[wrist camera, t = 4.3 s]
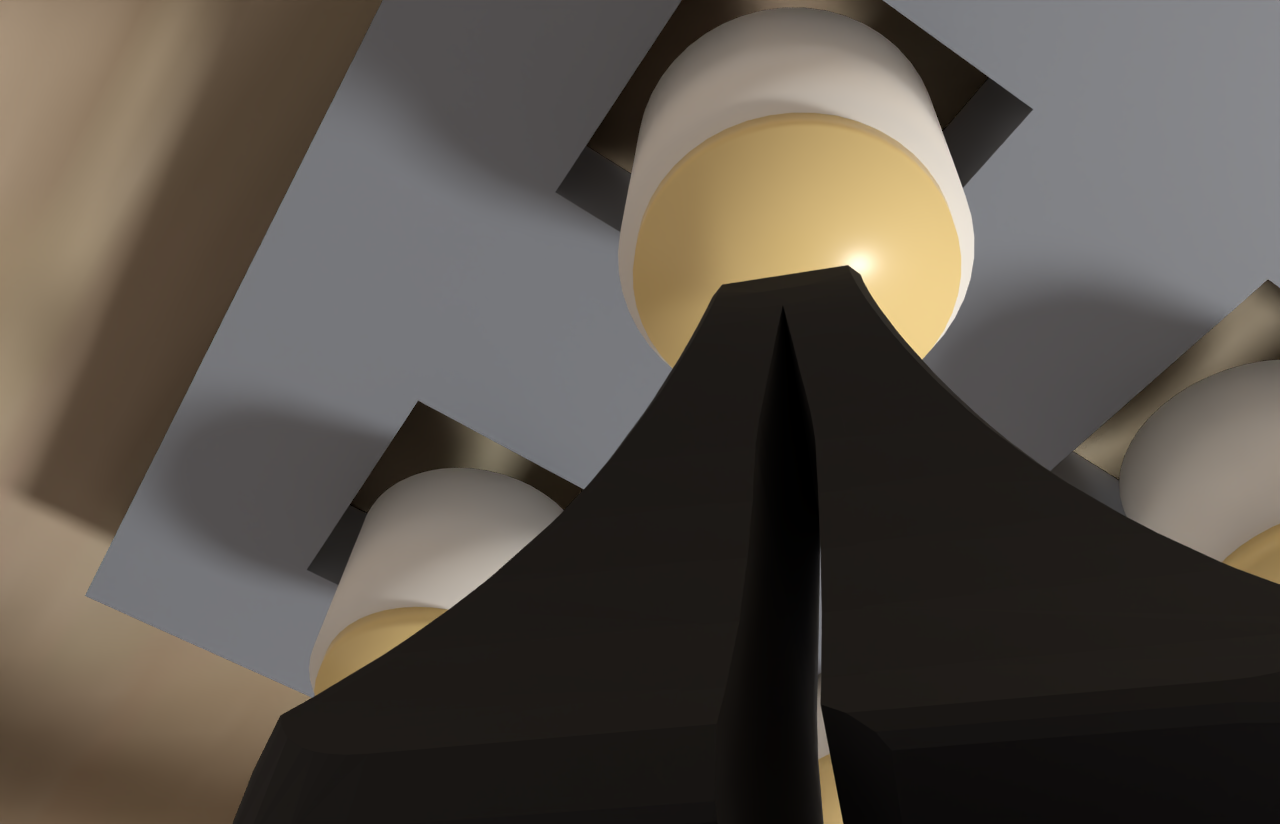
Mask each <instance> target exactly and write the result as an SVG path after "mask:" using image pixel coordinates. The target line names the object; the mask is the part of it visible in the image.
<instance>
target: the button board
mask: <svg viewBox="0 0 1280 824" xmlns="http://www.w3.org/2000/svg"><path fill="white" fill-rule="evenodd" d="M883 1H884V2H886V3H887V4H889V5H890V6H891V7H893V8H894V9H896V10H897V11H898V12H900V13H901V14H902V15H904V16H905V17H907V18H908V19H909V20H911V21H912V22H913V23H915V24H916V25H918V26H919V27H920V28H922V29H923V30H925V31H926V32H927V33H929V34H930V35H931V36H933V37H934V38H936V39H937V40H938V41H940V42H941V43H942V44H944V45H945V46H947V47H948V48H949V49H951V50H952V51H954V52H955V53H956V54H958V55H959V56H960V57H962V58H963V59H965V60H966V61H967V62H969V63H970V64H971V65H973V66H974V67H976V68H977V69H978V70H980V71H981V72H983V73H984V74H985V75H987V76H988V77H989V78H988V79H987V81H986V82H985V83H984V84H983V85H982V86H981V88H980V89H979V90H978V91H977V92H976V93H975V95H974V96H973V97H972V98H971V99H970V100H969V102H968V103H967V104H966V105H965V106H964V107H963V109H962V110H961V111H960V112H959V113H958V114H957V116H956V117H955V118H954V119H953V120H952V121H951V123H950V124H949V125H948V126H947V127H946V128H945V130H944V131H943V135H944V137H945V140H946V143H947V146H948V149H949V151H950V154H951V157H952V160H953V162H954V165H955V168H956V171H957V174H958V176H959V179H960V182H961V185H962V188H963V190H964V193H965V196H966V199H967V203H968V206H969V209H970V213H971V216H972V223H973V231H974V261H973V267H972V273H971V279H970V282H969V285H968V288H967V291H966V295H965V298H964V300H963V302H962V304H961V306H960V308H959V310H958V313H957V315H956V317H955V318H954V320H953V321H952V323H951V324H950V326H949V328H948V329H947V331H946V332H945V334H944V335H943V336H942V337H941V339H940V340H939V341H938V342H937V343H936V344H935V346H934V347H933V348H932V349H931V350H930V351H929V352H928V354H927V355H926V356H925V357H924V358H923V359H922V360H923V361H924V362H925V363H926V364H927V365H928V367H929V368H930V369H931V370H932V371H933V372H934V373H935V374H936V375H937V376H938V377H939V378H940V379H941V380H942V381H943V382H944V383H945V384H946V385H947V386H948V387H949V388H950V389H951V390H952V391H953V392H954V393H955V394H956V395H957V396H958V397H959V398H960V399H961V400H962V401H964V402H965V403H966V404H967V405H968V406H969V407H970V408H971V409H972V410H973V411H974V412H975V413H976V414H978V415H979V416H980V417H981V418H982V419H983V420H985V421H986V422H987V423H988V424H989V425H990V426H992V427H993V428H994V429H995V430H996V431H998V432H999V433H1000V434H1001V435H1002V436H1004V437H1005V438H1006V439H1007V440H1009V441H1010V442H1011V443H1012V444H1014V445H1015V446H1017V447H1018V448H1019V449H1021V450H1022V451H1023V452H1025V453H1026V454H1027V455H1029V456H1030V457H1031V458H1033V459H1034V460H1035V461H1037V462H1038V463H1039V464H1041V465H1042V466H1043V467H1045V468H1046V469H1048V470H1049V471H1051V472H1052V473H1054V474H1055V475H1057V476H1058V477H1060V478H1061V479H1063V480H1064V481H1066V482H1067V483H1069V484H1071V485H1072V486H1074V487H1076V488H1077V489H1079V490H1081V491H1083V492H1084V493H1086V494H1088V495H1090V496H1091V497H1093V498H1095V499H1097V500H1098V501H1100V502H1102V503H1103V504H1105V505H1107V506H1109V507H1110V508H1112V509H1114V510H1116V511H1117V512H1119V513H1121V514H1122V515H1124V516H1126V514H1125V511H1124V509H1123V506H1122V502H1121V498H1120V490H1119V480H1117V479H1116V478H1114V477H1113V476H1111V475H1109V474H1108V473H1106V472H1105V471H1103V470H1101V469H1100V468H1098V467H1097V466H1095V465H1094V464H1092V463H1090V462H1089V461H1087V460H1086V459H1084V458H1082V457H1081V456H1079V455H1078V454H1076V453H1074V452H1073V450H1074V449H1076V448H1077V447H1078V446H1079V445H1080V444H1081V443H1082V442H1084V441H1085V440H1086V439H1087V438H1088V437H1089V436H1090V435H1092V434H1093V433H1094V432H1095V431H1096V430H1097V429H1098V428H1099V427H1101V426H1102V425H1103V424H1104V423H1105V422H1106V421H1107V420H1109V419H1110V418H1111V417H1112V416H1113V415H1114V414H1115V413H1117V412H1118V411H1119V410H1120V409H1121V408H1122V407H1123V406H1124V405H1126V404H1127V403H1128V402H1129V401H1130V400H1131V399H1132V398H1134V397H1135V396H1136V395H1137V394H1138V393H1139V392H1140V391H1142V390H1143V389H1144V388H1145V387H1146V386H1147V385H1148V384H1149V383H1151V382H1152V381H1153V380H1154V379H1155V378H1156V377H1157V376H1159V375H1160V374H1161V373H1162V372H1163V371H1164V370H1165V369H1167V368H1168V367H1169V366H1170V365H1171V364H1172V363H1173V362H1174V361H1176V360H1177V359H1178V358H1179V357H1180V356H1181V355H1182V354H1184V353H1185V352H1186V351H1187V350H1188V349H1189V348H1190V347H1192V346H1193V345H1194V344H1195V343H1196V342H1197V341H1198V340H1199V339H1201V338H1202V337H1203V336H1204V335H1205V334H1206V333H1207V332H1209V331H1210V330H1211V329H1212V328H1213V327H1214V326H1215V325H1217V324H1218V323H1219V322H1220V321H1221V320H1222V319H1223V318H1225V317H1226V316H1227V315H1228V314H1229V313H1230V312H1231V311H1232V310H1234V309H1235V308H1236V307H1237V306H1238V305H1239V304H1240V303H1242V302H1243V301H1244V300H1245V299H1246V298H1247V297H1248V296H1250V295H1251V294H1252V293H1253V292H1254V291H1255V290H1256V289H1257V288H1259V287H1260V286H1261V285H1262V284H1263V283H1264V282H1265V281H1267V280H1270V281H1271V282H1273V283H1274V284H1275V285H1277V286H1278V287H1279V288H1280V0H883ZM680 2H681V0H383V1H382V3H381V5H380V7H379V9H378V11H377V13H376V15H375V17H374V19H373V21H372V23H371V25H370V27H369V29H368V31H367V33H366V35H365V37H364V39H363V41H362V43H361V45H360V47H359V49H358V51H357V53H356V55H355V57H354V59H353V61H352V63H351V65H350V67H349V69H348V71H347V73H346V75H345V77H344V79H343V81H342V83H341V85H340V87H339V89H338V91H337V93H336V95H335V97H334V99H333V101H332V103H331V105H330V107H329V109H328V111H327V113H326V115H325V117H324V119H323V121H322V123H321V125H320V127H319V129H318V131H317V133H316V135H315V137H314V139H313V141H312V143H311V145H310V147H309V149H308V151H307V153H306V155H305V157H304V159H303V161H302V163H301V165H300V167H299V169H298V171H297V173H296V175H295V177H294V179H293V181H292V183H291V185H290V187H289V189H288V191H287V193H286V195H285V197H284V199H283V201H282V203H281V205H280V207H279V209H278V211H277V213H276V215H275V217H274V219H273V221H272V223H271V225H270V227H269V229H268V231H267V233H266V235H265V237H264V239H263V241H262V243H261V245H260V247H259V249H258V251H257V253H256V255H255V257H254V259H253V261H252V263H251V265H250V267H249V269H248V271H247V273H246V275H245V277H244V279H243V281H242V283H241V285H240V287H239V289H238V291H237V293H236V295H235V297H234V299H233V301H232V303H231V305H230V307H229V309H228V311H227V313H226V315H225V317H224V319H223V321H222V323H221V325H220V327H219V329H218V331H217V333H216V335H215V337H214V339H213V341H212V343H211V345H210V347H209V349H208V351H207V353H206V355H205V357H204V359H203V361H202V363H201V365H200V367H199V369H198V371H197V373H196V375H195V377H194V379H193V381H192V383H191V385H190V387H189V389H188V391H187V393H186V395H185V397H184V399H183V401H182V403H181V405H180V407H179V409H178V411H177V413H176V415H175V417H174V419H173V421H172V423H171V425H170V427H169V429H168V431H167V433H166V435H165V437H164V439H163V441H162V443H161V445H160V447H159V449H158V451H157V453H156V455H155V457H154V459H153V461H152V463H151V465H150V467H149V469H148V471H147V473H146V475H145V477H144V479H143V481H142V483H141V485H140V487H139V489H138V491H137V493H136V495H135V497H134V499H133V501H132V503H131V505H130V507H129V509H128V511H127V513H126V515H125V517H124V519H123V521H122V523H121V525H120V527H119V529H118V531H117V533H116V535H115V537H114V539H113V541H112V543H111V545H110V547H109V549H108V551H107V553H106V555H105V557H104V559H103V561H102V563H101V565H100V567H99V569H98V571H97V573H96V575H95V577H94V579H93V581H92V583H91V585H90V587H89V589H88V591H87V593H86V595H85V596H87V597H89V598H91V599H93V600H95V601H98V602H100V603H102V604H104V605H107V606H109V607H111V608H113V609H116V610H118V611H120V612H122V613H124V614H127V615H129V616H131V617H133V618H136V619H138V620H140V621H142V622H145V623H147V624H149V625H151V626H154V627H156V628H158V629H160V630H162V631H165V632H167V633H169V634H171V635H174V636H176V637H178V638H180V639H183V640H185V641H187V642H189V643H191V644H194V645H196V646H198V647H200V648H203V649H205V650H207V651H209V652H212V653H214V654H216V655H218V656H220V657H223V658H225V659H227V660H229V661H232V662H234V663H236V664H238V665H241V666H243V667H245V668H247V669H249V670H252V671H254V672H256V673H258V674H261V675H263V676H265V677H267V678H270V679H272V680H274V681H276V682H278V683H281V684H283V685H285V686H287V687H290V688H292V689H294V690H296V691H299V692H301V693H303V694H305V695H307V696H310V697H314V696H315V694H314V692H313V689H312V685H311V681H310V673H309V664H310V656H311V653H312V650H313V647H314V644H315V642H316V639H317V637H318V634H319V632H320V630H321V627H322V625H323V622H324V620H325V617H326V615H327V612H328V610H329V607H330V605H331V602H332V600H333V597H334V595H335V592H336V590H337V587H338V585H339V582H340V580H341V577H342V575H343V572H344V570H345V567H346V565H347V563H348V560H349V558H350V555H351V553H352V550H353V548H354V545H355V543H356V540H357V538H358V535H359V533H360V530H361V528H362V525H363V523H364V520H365V518H366V515H367V513H365V512H363V511H361V510H359V509H357V508H355V507H353V506H351V505H350V503H351V502H352V500H353V499H354V497H355V496H356V494H357V493H358V491H359V490H360V488H361V487H362V485H363V484H364V482H365V481H366V479H367V478H368V476H369V474H370V473H371V471H372V470H373V468H374V467H375V465H376V464H377V462H378V461H379V459H380V458H381V456H382V455H383V453H384V452H385V450H386V449H387V447H388V446H389V444H390V443H391V441H392V440H393V438H394V437H395V435H396V433H397V432H398V430H399V429H400V427H401V426H402V424H403V423H404V421H405V420H406V418H407V417H408V415H409V414H410V412H411V411H412V409H413V408H414V406H415V405H416V403H417V402H418V401H420V402H422V403H423V404H425V405H427V406H429V407H431V408H433V409H435V410H437V411H438V412H440V413H442V414H444V415H446V416H448V417H450V418H451V419H453V420H455V421H457V422H459V423H461V424H463V425H465V426H466V427H468V428H470V429H472V430H474V431H476V432H478V433H479V434H481V435H483V436H485V437H487V438H489V439H491V440H493V441H494V442H496V443H498V444H500V445H502V446H504V447H506V448H507V449H509V450H511V451H513V452H515V453H517V454H519V455H520V456H522V457H524V458H526V459H528V460H530V461H532V462H534V463H535V464H537V465H539V466H541V467H543V468H545V469H547V470H548V471H550V472H552V473H554V474H556V475H558V476H560V477H562V478H563V479H565V480H567V481H569V482H571V483H573V484H575V485H576V486H578V487H580V488H582V489H585V488H586V486H587V485H588V484H589V483H590V482H591V481H592V480H593V478H594V477H595V476H596V475H597V474H598V472H599V471H600V470H601V469H602V467H603V466H604V465H605V464H606V463H607V461H608V460H609V459H610V458H611V456H612V455H613V454H614V453H615V451H616V450H617V448H618V447H619V446H620V444H621V443H622V442H623V440H624V439H625V438H626V436H627V435H628V434H629V432H630V431H631V429H632V428H633V427H634V425H635V424H636V423H637V421H638V420H639V419H640V417H641V416H642V415H643V413H644V412H645V411H646V409H647V408H648V406H649V405H650V403H651V402H652V400H653V399H654V397H655V396H656V394H657V392H658V391H659V389H660V388H661V386H662V385H663V383H664V381H665V380H666V378H667V377H668V375H669V373H670V372H671V370H672V369H673V368H671V367H670V366H669V365H668V364H667V363H666V362H664V361H663V360H662V359H661V358H660V357H659V355H658V354H657V353H656V352H655V351H654V350H653V349H652V348H651V347H650V346H649V344H648V343H647V341H646V340H645V338H644V337H643V336H642V334H641V333H640V331H639V330H638V328H637V326H636V324H635V322H634V320H633V318H632V316H631V314H630V312H629V310H628V307H627V304H626V301H625V298H624V295H623V292H622V287H621V282H620V276H619V265H618V248H619V239H620V231H621V225H622V220H623V215H624V210H625V204H626V199H627V194H628V188H629V183H630V178H631V174H630V173H629V172H627V171H625V170H624V169H622V168H621V167H619V166H617V165H616V164H614V163H613V162H611V161H609V160H608V159H606V158H605V157H603V156H601V155H600V154H598V153H597V152H595V151H593V150H592V149H590V148H589V147H587V146H586V145H587V143H588V142H589V140H590V139H591V137H592V136H593V134H594V133H595V131H596V130H597V128H598V127H599V125H600V124H601V122H602V120H603V119H604V117H605V116H606V114H607V113H608V111H609V110H610V108H611V107H612V105H613V104H614V102H615V101H616V99H617V98H618V96H619V95H620V93H621V92H622V90H623V89H624V87H625V86H626V84H627V82H628V81H629V79H630V78H631V76H632V75H633V73H634V72H635V70H636V69H637V67H638V66H639V64H640V63H641V61H642V60H643V58H644V57H645V55H646V54H647V52H648V51H649V49H650V48H651V46H652V45H653V43H654V41H655V40H656V38H657V37H658V35H659V34H660V32H661V31H662V29H663V28H664V26H665V25H666V23H667V22H668V20H669V19H670V17H671V16H672V14H673V13H674V11H675V10H676V8H677V7H678V5H679V3H680ZM1126 517H1127V516H1126ZM821 638H822V602H821V552H820V596H819V644H818V675H819V674H820V673H821Z"/></svg>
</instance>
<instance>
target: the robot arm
mask: <svg viewBox="0 0 1280 824" xmlns="http://www.w3.org/2000/svg"><path fill="white" fill-rule="evenodd" d="M820 552H821V602H822V638H821V699H820V705H821V710H822V716H823V721H824V726H825V731H826V736H827V742H828V747H829V752H830V757H831V763H832V768H833V773H834V778H835V783H836V789H837V794H838V799H839V804H840V809H841V815H842V820H843V824H1280V584H1277V583H1275V582H1272V581H1269V580H1266V579H1264V578H1261V577H1258V576H1256V575H1253V574H1250V573H1247V572H1245V571H1242V570H1239V569H1237V568H1234V567H1232V566H1229V565H1227V564H1225V563H1222V562H1220V561H1218V560H1215V559H1213V558H1211V557H1209V556H1207V555H1205V554H1202V553H1200V552H1198V551H1196V550H1194V549H1192V548H1189V547H1187V546H1185V545H1183V544H1181V543H1179V542H1176V541H1174V540H1172V539H1170V538H1168V537H1166V536H1163V535H1161V534H1159V533H1157V532H1155V531H1153V530H1151V529H1149V528H1147V527H1145V526H1143V525H1141V524H1139V523H1138V522H1136V521H1134V520H1132V519H1130V518H1128V517H1126V516H1124V515H1122V514H1121V513H1119V512H1117V511H1116V510H1114V509H1112V508H1110V507H1109V506H1107V505H1105V504H1103V503H1102V502H1100V501H1098V500H1097V499H1095V498H1093V497H1091V496H1090V495H1088V494H1086V493H1084V492H1083V491H1081V490H1079V489H1077V488H1076V487H1074V486H1072V485H1071V484H1069V483H1067V482H1066V481H1064V480H1063V479H1061V478H1060V477H1058V476H1057V475H1055V474H1054V473H1052V472H1051V471H1049V470H1048V469H1046V468H1045V467H1043V466H1042V465H1041V464H1039V463H1038V462H1037V461H1035V460H1034V459H1033V458H1031V457H1030V456H1029V455H1027V454H1026V453H1025V452H1023V451H1022V450H1021V449H1019V448H1018V447H1017V446H1015V445H1014V444H1012V443H1011V442H1010V441H1009V440H1007V439H1006V438H1005V437H1004V436H1002V435H1001V434H1000V433H999V432H998V431H996V430H995V429H994V428H993V427H992V426H990V425H989V424H988V423H987V422H986V421H985V420H983V419H982V418H981V417H980V416H979V415H978V414H976V413H975V412H974V411H973V410H972V409H971V408H970V407H969V406H968V405H967V404H966V403H965V402H964V401H962V400H961V399H960V398H959V397H958V396H957V395H956V394H955V393H954V392H953V391H952V390H951V389H950V388H949V387H948V386H947V385H946V384H945V383H944V382H943V381H942V380H941V379H940V378H939V377H938V376H937V375H936V374H935V373H934V372H933V371H932V370H931V369H930V368H929V367H928V365H927V364H926V363H925V362H924V361H923V360H922V359H921V358H920V357H919V355H918V354H917V353H916V352H915V351H914V350H913V349H912V348H911V347H910V345H909V344H908V343H907V342H906V341H905V340H904V339H903V337H902V336H901V335H900V334H899V332H898V331H897V330H896V329H895V328H894V326H893V325H892V324H891V322H890V321H889V320H888V318H887V317H886V316H885V314H884V313H883V312H882V310H881V309H880V307H879V306H878V305H877V303H876V302H875V300H874V299H873V297H872V295H871V294H870V292H869V291H868V289H867V287H866V285H865V283H864V281H863V279H862V276H861V274H860V273H858V272H857V271H855V270H854V269H853V268H851V267H850V266H849V265H845V266H839V267H832V268H826V269H819V270H813V271H806V272H800V273H793V274H787V275H780V276H774V277H767V278H761V279H755V280H748V281H742V282H735V283H729V284H722V285H721V287H720V288H719V289H718V290H717V292H716V293H715V294H714V295H713V297H712V299H711V301H710V303H709V305H708V307H707V309H706V311H705V312H704V314H703V316H702V318H701V320H700V322H699V324H698V326H697V328H696V329H695V331H694V333H693V335H692V337H691V338H690V340H689V342H688V344H687V345H686V347H685V349H684V351H683V352H682V354H681V356H680V358H679V359H678V361H677V362H676V364H675V366H674V367H673V369H672V370H671V372H670V373H669V375H668V377H667V378H666V380H665V381H664V383H663V385H662V386H661V388H660V389H659V391H658V392H657V394H656V396H655V397H654V399H653V400H652V402H651V403H650V405H649V406H648V408H647V409H646V411H645V412H644V413H643V415H642V416H641V417H640V419H639V420H638V421H637V423H636V424H635V425H634V427H633V428H632V429H631V431H630V432H629V434H628V435H627V436H626V438H625V439H624V440H623V442H622V443H621V444H620V446H619V447H618V448H617V450H616V451H615V453H614V454H613V455H612V456H611V458H610V459H609V460H608V461H607V463H606V464H605V465H604V466H603V467H602V469H601V470H600V471H599V472H598V474H597V475H596V476H595V477H594V478H593V480H592V481H591V482H590V483H589V484H588V485H587V486H586V488H585V489H584V490H583V491H582V492H581V493H580V494H579V495H578V496H577V497H576V498H575V499H574V500H573V501H572V502H571V503H570V505H569V506H568V507H567V508H566V509H565V510H564V511H563V512H562V513H561V514H560V515H559V516H558V517H557V518H556V519H555V520H554V521H553V522H552V523H551V524H550V525H548V526H547V527H546V528H545V529H544V530H543V531H542V532H541V533H539V534H538V535H537V536H536V537H535V538H534V539H533V540H532V541H530V542H529V543H528V544H527V545H526V546H525V547H524V548H523V549H521V550H520V551H519V552H518V553H517V554H516V555H515V556H514V557H513V558H511V559H510V560H509V561H508V562H507V563H506V564H505V565H504V566H502V567H501V568H500V569H499V570H498V571H497V572H496V573H495V574H493V575H492V576H491V577H490V578H489V579H487V580H486V581H485V582H484V583H482V584H481V585H480V586H479V587H477V588H476V589H475V590H473V591H472V592H471V593H470V594H468V595H467V596H466V597H464V598H463V599H462V600H460V601H459V602H458V603H457V604H455V605H454V606H453V607H451V608H450V609H449V610H447V611H446V612H445V613H443V614H442V615H440V616H439V617H438V618H436V619H435V620H433V621H432V622H430V623H429V624H428V625H426V626H425V627H423V628H422V629H421V630H419V631H418V632H416V633H415V634H414V635H412V636H411V637H409V638H408V639H406V640H405V641H403V642H402V643H400V644H399V645H397V646H396V647H394V648H393V649H391V650H390V651H388V652H387V653H385V654H384V655H382V656H380V657H379V658H377V659H375V660H374V661H372V662H371V663H369V664H367V665H366V666H364V667H362V668H361V669H359V670H357V671H356V672H354V673H352V674H351V675H349V676H347V677H346V678H344V679H342V680H341V681H339V682H337V683H336V684H334V685H332V686H331V687H329V688H327V689H326V690H324V691H322V692H321V693H319V694H317V695H316V696H314V697H312V698H311V699H309V700H307V701H306V702H304V703H302V704H300V705H299V706H297V707H295V708H293V709H291V710H290V711H288V712H286V713H284V714H282V715H281V716H280V718H279V720H278V722H277V724H276V726H275V728H274V730H273V732H272V734H271V736H270V738H269V740H268V742H267V744H266V746H265V748H264V750H263V752H262V754H261V756H260V758H259V760H258V762H257V765H256V767H255V769H254V771H253V773H252V776H251V778H250V781H249V783H248V786H247V788H246V791H245V793H244V796H243V798H242V801H241V804H240V806H239V809H238V811H237V814H236V816H235V819H234V821H233V824H824V821H823V809H822V797H821V785H820V773H819V761H818V732H817V692H818V644H819V596H820Z"/></svg>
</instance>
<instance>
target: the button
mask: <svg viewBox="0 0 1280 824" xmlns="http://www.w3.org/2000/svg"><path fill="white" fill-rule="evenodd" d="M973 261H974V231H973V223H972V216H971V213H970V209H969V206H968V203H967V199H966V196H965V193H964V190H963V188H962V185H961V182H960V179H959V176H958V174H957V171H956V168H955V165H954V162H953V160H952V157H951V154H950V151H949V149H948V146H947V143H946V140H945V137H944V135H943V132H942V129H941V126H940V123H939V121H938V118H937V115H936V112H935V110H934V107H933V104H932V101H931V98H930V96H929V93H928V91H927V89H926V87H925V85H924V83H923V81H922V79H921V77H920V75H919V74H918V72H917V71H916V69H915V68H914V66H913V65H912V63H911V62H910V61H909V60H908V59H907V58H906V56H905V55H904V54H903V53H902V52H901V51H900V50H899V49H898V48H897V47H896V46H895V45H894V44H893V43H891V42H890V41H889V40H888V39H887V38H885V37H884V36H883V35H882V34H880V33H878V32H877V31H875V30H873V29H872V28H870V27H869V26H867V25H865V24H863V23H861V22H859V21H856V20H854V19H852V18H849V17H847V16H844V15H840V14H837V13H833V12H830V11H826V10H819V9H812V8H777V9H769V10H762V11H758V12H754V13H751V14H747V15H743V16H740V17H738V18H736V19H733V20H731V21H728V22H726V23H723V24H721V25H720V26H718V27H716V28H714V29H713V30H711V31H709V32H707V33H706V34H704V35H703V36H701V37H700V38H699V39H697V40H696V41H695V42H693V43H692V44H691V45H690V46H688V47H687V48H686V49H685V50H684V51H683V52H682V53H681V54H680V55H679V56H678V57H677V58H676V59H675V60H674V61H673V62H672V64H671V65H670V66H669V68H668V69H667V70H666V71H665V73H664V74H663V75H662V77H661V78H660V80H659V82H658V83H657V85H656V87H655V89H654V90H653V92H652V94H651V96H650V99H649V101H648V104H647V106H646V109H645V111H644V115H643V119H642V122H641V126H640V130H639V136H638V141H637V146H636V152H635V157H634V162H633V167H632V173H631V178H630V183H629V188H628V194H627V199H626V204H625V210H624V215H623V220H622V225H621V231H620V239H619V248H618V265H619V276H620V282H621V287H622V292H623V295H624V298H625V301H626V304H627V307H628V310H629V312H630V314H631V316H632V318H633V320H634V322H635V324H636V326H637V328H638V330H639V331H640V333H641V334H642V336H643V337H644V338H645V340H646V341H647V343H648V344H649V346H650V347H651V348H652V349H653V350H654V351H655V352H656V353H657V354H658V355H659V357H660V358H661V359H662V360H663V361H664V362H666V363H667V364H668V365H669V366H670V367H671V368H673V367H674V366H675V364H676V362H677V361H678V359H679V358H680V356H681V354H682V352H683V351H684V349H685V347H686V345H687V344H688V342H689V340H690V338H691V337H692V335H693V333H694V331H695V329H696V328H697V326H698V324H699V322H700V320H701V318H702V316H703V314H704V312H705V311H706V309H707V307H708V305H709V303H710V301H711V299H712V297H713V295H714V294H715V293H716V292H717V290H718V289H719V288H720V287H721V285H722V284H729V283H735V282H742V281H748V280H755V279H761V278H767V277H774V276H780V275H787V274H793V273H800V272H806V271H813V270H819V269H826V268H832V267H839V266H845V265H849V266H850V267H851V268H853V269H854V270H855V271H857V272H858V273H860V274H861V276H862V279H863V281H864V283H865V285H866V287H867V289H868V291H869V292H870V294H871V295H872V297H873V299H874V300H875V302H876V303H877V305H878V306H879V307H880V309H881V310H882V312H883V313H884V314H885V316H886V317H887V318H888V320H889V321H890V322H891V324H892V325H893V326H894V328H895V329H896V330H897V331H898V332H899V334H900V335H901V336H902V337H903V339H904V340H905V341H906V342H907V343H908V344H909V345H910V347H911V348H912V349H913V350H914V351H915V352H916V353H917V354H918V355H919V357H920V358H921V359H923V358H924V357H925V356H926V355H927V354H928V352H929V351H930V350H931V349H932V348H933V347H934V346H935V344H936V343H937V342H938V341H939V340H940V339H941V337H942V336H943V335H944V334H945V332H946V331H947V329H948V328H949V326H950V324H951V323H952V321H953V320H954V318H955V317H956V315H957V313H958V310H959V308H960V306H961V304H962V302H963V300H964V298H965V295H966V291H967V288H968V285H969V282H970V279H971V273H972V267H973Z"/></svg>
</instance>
